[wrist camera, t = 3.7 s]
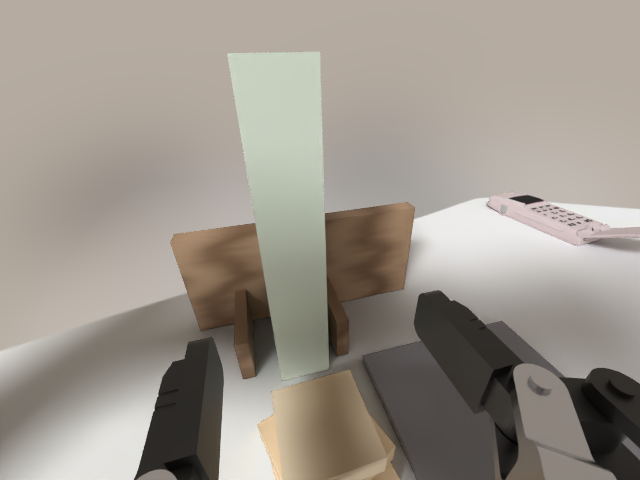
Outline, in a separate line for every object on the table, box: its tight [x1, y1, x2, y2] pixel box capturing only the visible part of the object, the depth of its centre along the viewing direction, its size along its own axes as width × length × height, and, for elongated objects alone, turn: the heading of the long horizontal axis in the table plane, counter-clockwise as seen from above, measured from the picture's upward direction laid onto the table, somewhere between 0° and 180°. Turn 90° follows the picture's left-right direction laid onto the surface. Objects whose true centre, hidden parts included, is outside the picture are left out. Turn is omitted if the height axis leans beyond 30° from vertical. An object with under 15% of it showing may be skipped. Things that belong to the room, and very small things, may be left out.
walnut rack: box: [170, 202, 415, 379], centre depth 25 cm, size 22×8×10 cm, turn 104°
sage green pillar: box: [227, 52, 329, 381], centre depth 20 cm, size 4×6×22 cm, turn 14°
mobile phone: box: [488, 192, 640, 246], centre depth 42 cm, size 6×6×25 cm
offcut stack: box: [258, 369, 400, 480], centre depth 17 cm, size 7×7×4 cm
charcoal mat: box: [363, 321, 640, 480], centre depth 19 cm, size 14×14×1 cm
